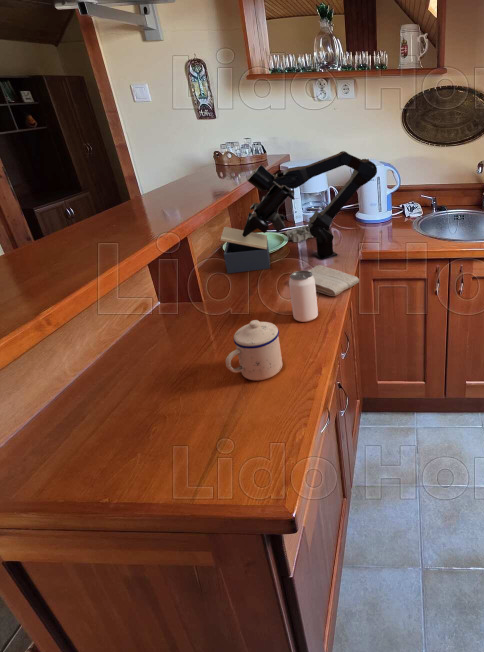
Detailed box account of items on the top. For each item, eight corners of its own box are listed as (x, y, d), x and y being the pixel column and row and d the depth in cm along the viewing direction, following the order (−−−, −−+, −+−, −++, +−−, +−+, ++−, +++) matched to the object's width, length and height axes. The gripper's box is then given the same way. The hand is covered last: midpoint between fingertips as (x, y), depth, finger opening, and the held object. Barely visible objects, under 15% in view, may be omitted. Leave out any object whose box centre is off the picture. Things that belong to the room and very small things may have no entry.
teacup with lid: (267, 351, 96) (260, 306, 92) (292, 366, 91) (285, 320, 86) (219, 377, 88) (208, 329, 83) (243, 395, 83) (233, 346, 78)
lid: (220, 240, 133) (220, 238, 133) (223, 228, 144) (224, 226, 144) (266, 249, 138) (267, 247, 137) (266, 237, 149) (267, 235, 149)
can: (294, 324, 107) (289, 282, 102) (292, 312, 113) (287, 271, 108) (319, 320, 108) (315, 278, 104) (316, 308, 114) (312, 268, 109)
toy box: (227, 273, 138) (223, 254, 135) (230, 259, 149) (226, 241, 146) (269, 268, 140) (267, 249, 138) (269, 255, 152) (267, 237, 149)
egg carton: (295, 243, 162) (293, 233, 161) (284, 239, 167) (283, 229, 166) (317, 236, 169) (316, 227, 167) (306, 232, 174) (305, 223, 172)
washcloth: (318, 270, 138) (317, 262, 136) (361, 283, 128) (360, 274, 127) (291, 284, 129) (290, 274, 128) (335, 298, 119) (334, 289, 118)
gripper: (294, 223, 133) (263, 259, 136) (291, 208, 150) (263, 241, 152) (265, 201, 129) (233, 239, 131) (265, 188, 145) (237, 222, 147)
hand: (243, 235), depth 140 cm, fingers closed, pressing on lid
